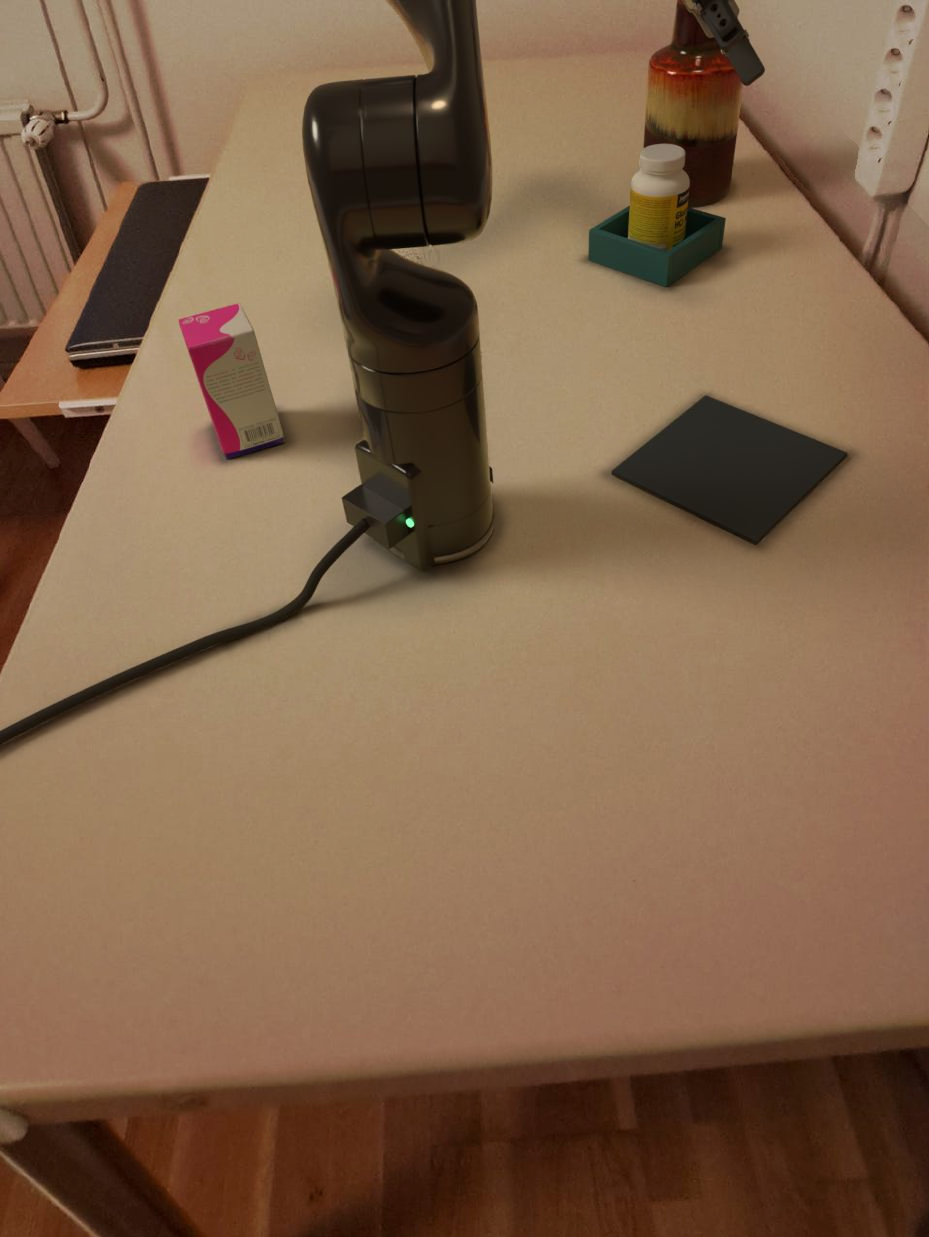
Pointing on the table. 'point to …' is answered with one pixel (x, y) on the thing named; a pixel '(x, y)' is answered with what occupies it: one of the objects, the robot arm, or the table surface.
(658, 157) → the pill bottle
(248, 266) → the table surface
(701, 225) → the square frame
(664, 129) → the vase
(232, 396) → the supplement box
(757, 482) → the mat
